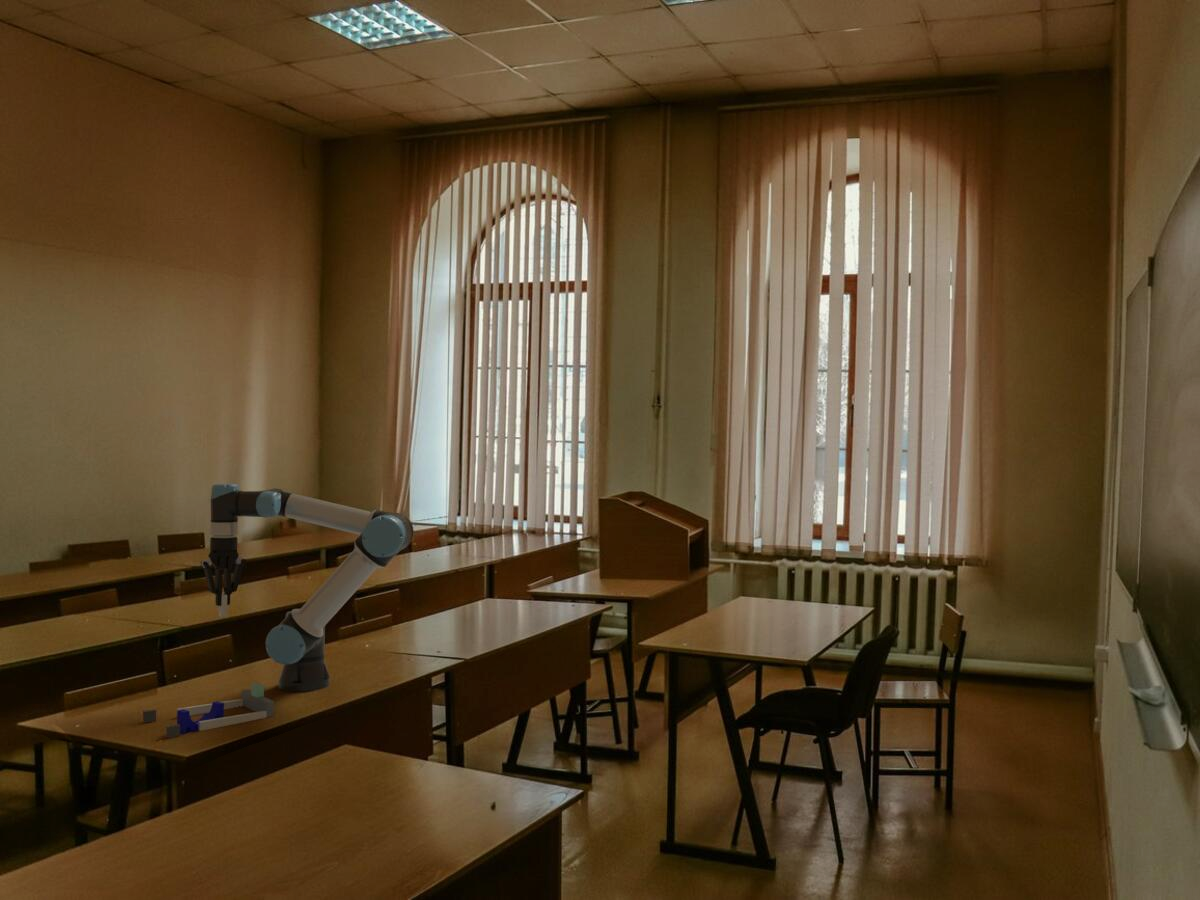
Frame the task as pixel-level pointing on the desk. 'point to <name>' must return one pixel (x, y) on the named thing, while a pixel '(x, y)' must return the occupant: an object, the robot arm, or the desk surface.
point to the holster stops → (171, 730)
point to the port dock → (249, 699)
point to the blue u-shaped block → (191, 726)
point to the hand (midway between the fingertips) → (222, 616)
